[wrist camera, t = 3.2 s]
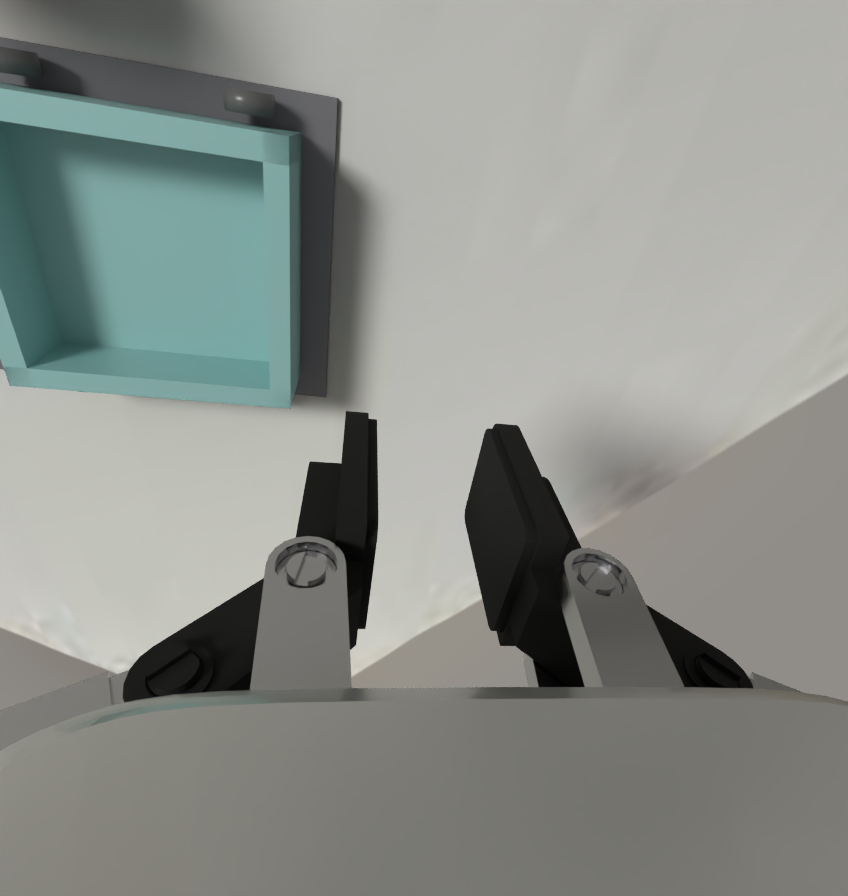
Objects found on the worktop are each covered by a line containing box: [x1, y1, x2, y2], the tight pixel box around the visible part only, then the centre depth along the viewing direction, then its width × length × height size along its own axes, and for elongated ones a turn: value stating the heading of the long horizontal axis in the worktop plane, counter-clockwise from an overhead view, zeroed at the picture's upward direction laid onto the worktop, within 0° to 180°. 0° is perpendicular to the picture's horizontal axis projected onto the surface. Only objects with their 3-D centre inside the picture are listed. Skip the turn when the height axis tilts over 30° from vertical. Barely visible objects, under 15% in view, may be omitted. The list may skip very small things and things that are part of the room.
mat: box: [0, 37, 338, 397], centre depth 24 cm, size 22×15×1 cm
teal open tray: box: [0, 46, 302, 409], centre depth 23 cm, size 13×14×4 cm
